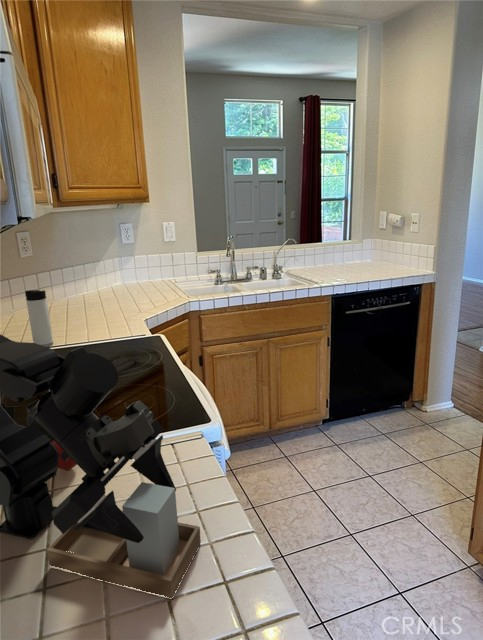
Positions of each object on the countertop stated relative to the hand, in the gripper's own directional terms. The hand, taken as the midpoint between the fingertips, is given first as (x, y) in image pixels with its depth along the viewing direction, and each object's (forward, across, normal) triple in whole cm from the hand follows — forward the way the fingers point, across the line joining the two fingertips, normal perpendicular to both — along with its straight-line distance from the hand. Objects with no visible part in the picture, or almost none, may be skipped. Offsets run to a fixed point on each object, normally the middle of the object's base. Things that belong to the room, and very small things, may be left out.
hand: (158, 514), depth 57 cm
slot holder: (+2, 0, +10) cm, 10 cm away
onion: (-13, +15, +25) cm, 32 cm away
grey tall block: (+4, 0, +6) cm, 8 cm away
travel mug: (-53, +74, +65) cm, 112 cm away
